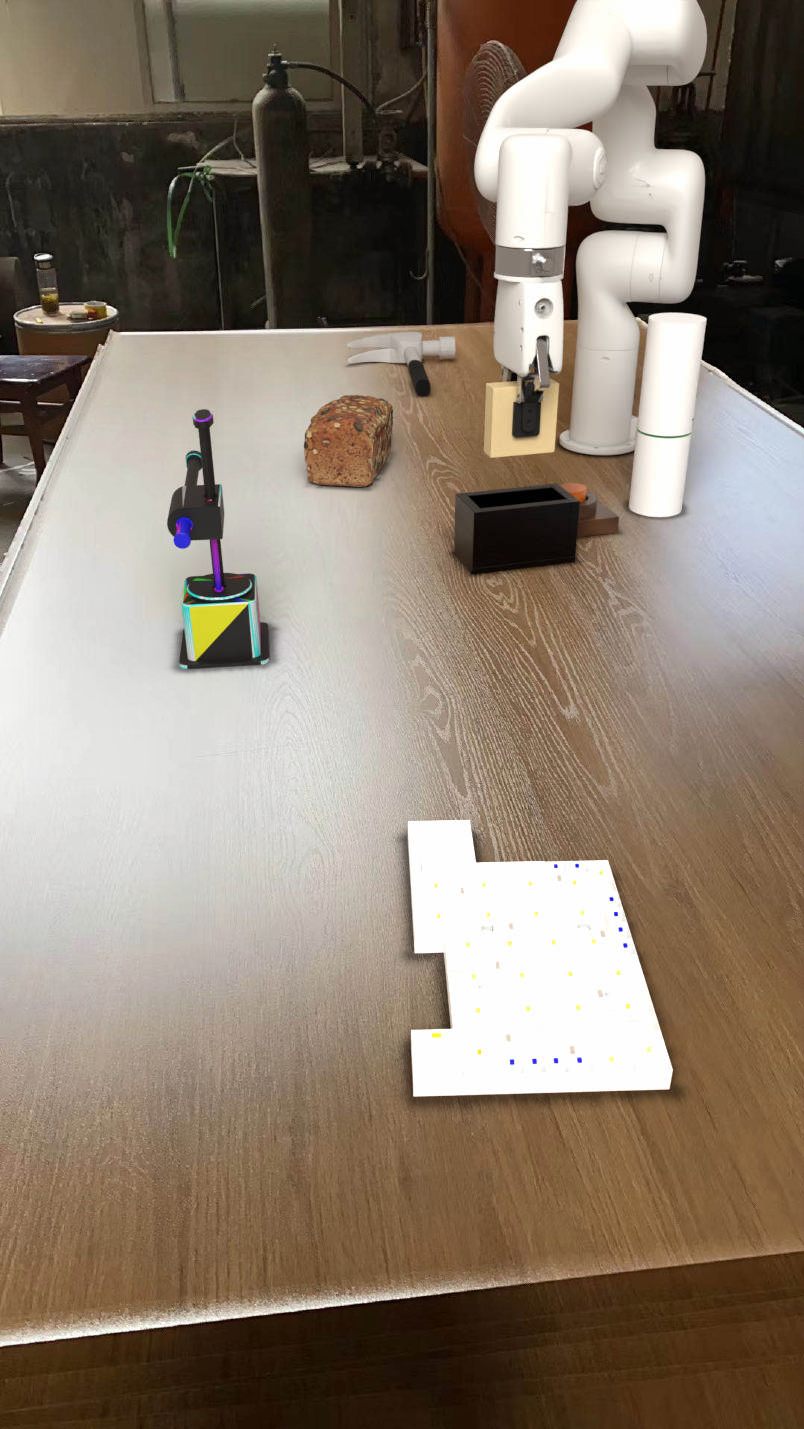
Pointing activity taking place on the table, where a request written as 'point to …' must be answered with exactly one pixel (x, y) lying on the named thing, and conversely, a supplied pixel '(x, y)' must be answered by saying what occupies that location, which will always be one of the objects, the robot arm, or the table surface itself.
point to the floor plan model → (528, 975)
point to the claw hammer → (404, 353)
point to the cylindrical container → (666, 412)
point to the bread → (348, 441)
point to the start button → (576, 490)
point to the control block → (595, 518)
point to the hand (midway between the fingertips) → (520, 431)
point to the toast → (501, 419)
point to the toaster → (515, 528)
